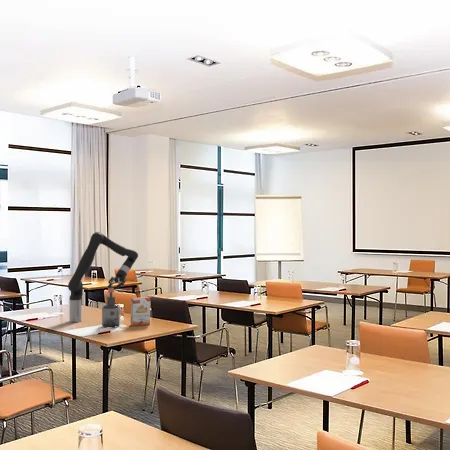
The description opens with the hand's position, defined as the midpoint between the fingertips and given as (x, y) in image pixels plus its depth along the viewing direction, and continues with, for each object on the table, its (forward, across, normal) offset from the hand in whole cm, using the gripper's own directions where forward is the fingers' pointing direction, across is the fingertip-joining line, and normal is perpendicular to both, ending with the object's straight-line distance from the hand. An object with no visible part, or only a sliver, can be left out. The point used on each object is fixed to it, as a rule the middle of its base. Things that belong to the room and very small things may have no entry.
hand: (112, 288), depth 404 cm
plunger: (+10, 0, +7) cm, 12 cm away
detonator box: (+22, +2, +18) cm, 29 cm away
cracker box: (+11, +16, +30) cm, 35 cm away
